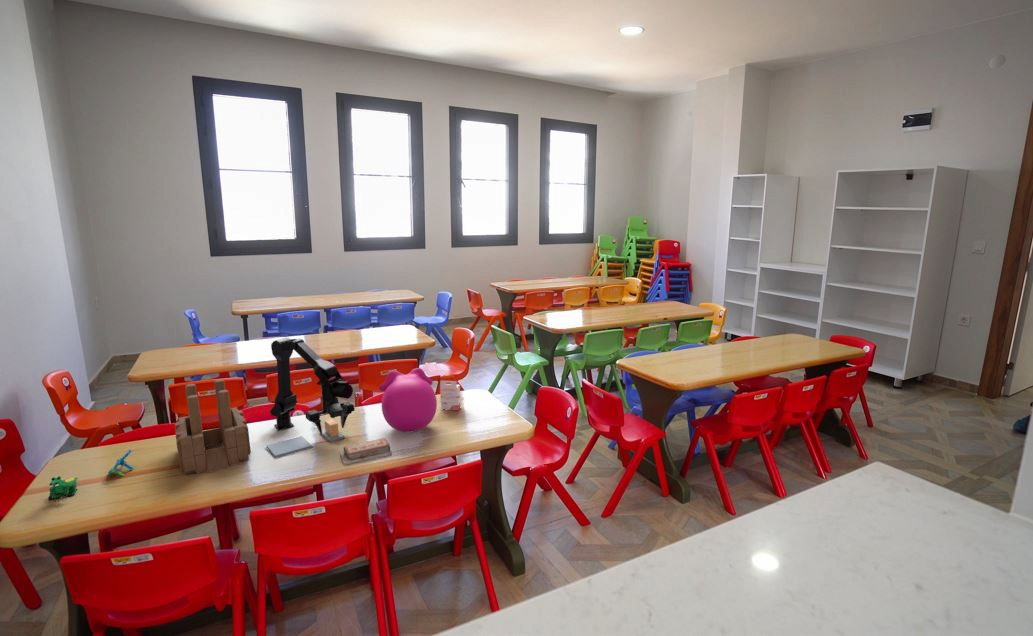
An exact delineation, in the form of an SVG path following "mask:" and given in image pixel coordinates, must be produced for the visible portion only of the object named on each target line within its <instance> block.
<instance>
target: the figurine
mask: <svg viewBox="0 0 1033 636" xmlns="http://www.w3.org/2000/svg"><path fill="white" fill-rule="evenodd" d="M433 382H434V381H433V379H431V378H429V377H428V376H427V375H426V373H425V371H424V370H423V369H422V368H420V367H417V368H413V369H412V370H411V371H410V372H409V373H407V374H404V373H402V372H400V371H398V370H391V371H389V372H388V373H387V375H386V377H385V381H384V382H383V383H382V384H380V385H379V387H378V389H379V391H380V392H384V393H383V395H382V398H381V411H382V416H383V418H384V420H385V422H386V423H387V424H388V425H389V426H390V427H391V428H392V429H394V430H396V431H399V432H402V433H412V432H413V433H414V432H417V431H421V430H423V429H425V428H427V426H428V425H429V424H430V423H431V422H432V421H433V419H434V417H435V415H436V413H437V405H438V403H437V401H438V400H437V395H436V392H435V389H434V388H433V387H432V385H433Z"/></svg>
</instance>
